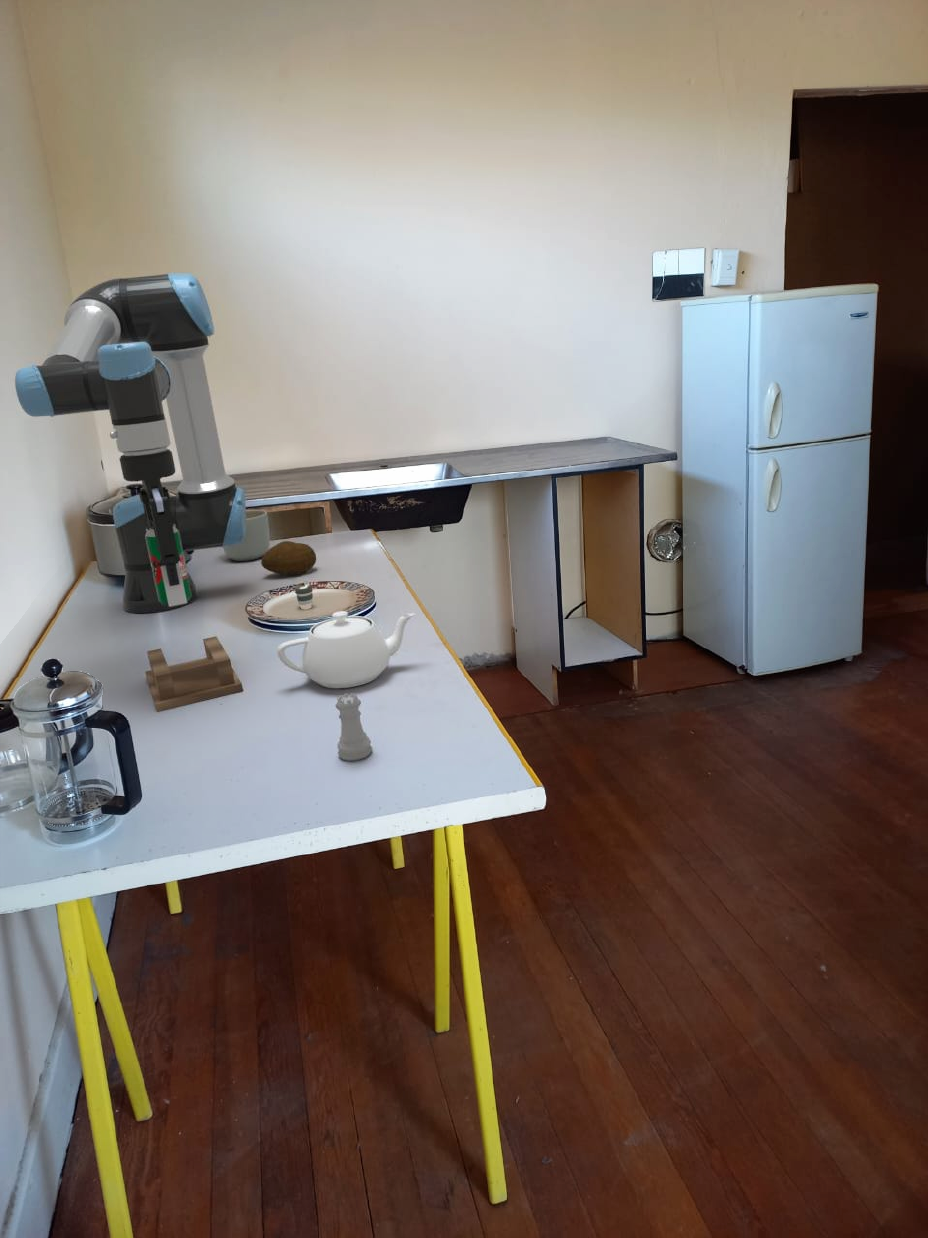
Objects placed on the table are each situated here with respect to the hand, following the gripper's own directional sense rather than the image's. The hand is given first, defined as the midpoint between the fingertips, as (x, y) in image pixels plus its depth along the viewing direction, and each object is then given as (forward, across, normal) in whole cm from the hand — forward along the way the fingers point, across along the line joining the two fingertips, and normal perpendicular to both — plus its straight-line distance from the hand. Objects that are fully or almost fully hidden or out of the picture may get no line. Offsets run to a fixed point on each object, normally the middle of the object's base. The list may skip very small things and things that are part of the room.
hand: (175, 599), depth 140 cm
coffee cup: (+15, -27, +26) cm, 41 cm away
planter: (+14, -79, +25) cm, 84 cm away
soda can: (0, 0, 0) cm, 0 cm away
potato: (+14, -55, +30) cm, 64 cm away
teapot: (+14, +14, +23) cm, 31 cm away
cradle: (+14, +1, 0) cm, 14 cm away
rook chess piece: (+14, +40, +15) cm, 45 cm away
